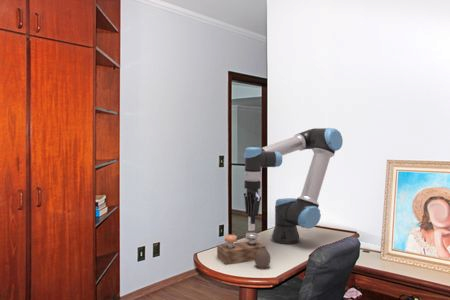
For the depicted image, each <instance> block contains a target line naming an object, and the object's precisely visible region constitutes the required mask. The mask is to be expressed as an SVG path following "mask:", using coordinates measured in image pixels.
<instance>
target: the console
mask: <svg viewBox="0 0 450 300" xmlns="http://www.w3.org/2000/svg"><path fill="white" fill-rule="evenodd" d="M261 246H264V247H266V245H264V244H262V243H260V242H258V241H257V240H254V245H252V246H250V245H249V240H247V241H240V242H233V248H228V243H226V244H225V243H222V244H217V247H216V248H217V249H216V252H217V253H216V258H217V259H218V260H219V261H220V262H222V263H223V264H224V265H227V266H229V265H233V264H240V263H246V262H253V261H254V262H255V254H256V252H257V251H258V250H259V248H260V247H261Z"/></svg>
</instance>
